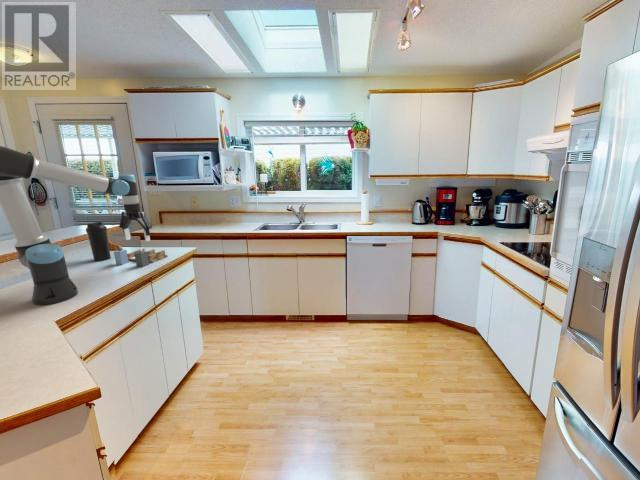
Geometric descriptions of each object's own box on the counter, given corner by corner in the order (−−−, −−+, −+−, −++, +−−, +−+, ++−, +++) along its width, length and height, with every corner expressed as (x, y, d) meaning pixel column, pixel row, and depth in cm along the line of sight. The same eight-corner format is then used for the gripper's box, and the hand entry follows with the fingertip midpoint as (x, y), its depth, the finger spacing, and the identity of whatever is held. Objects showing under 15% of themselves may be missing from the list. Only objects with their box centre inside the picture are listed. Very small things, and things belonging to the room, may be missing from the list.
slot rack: (152, 262, 176) (151, 256, 175) (125, 260, 182) (124, 253, 181) (167, 256, 188) (166, 250, 187) (141, 254, 193) (140, 248, 192)
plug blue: (122, 265, 173) (119, 248, 171) (116, 264, 175) (112, 248, 172) (128, 262, 178) (125, 246, 175) (122, 262, 179) (119, 246, 176)
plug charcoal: (142, 267, 170) (140, 250, 167) (136, 266, 171) (133, 249, 168) (149, 264, 174) (146, 248, 171) (143, 263, 175) (140, 247, 172)
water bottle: (116, 256, 189) (109, 221, 184) (103, 261, 180) (95, 224, 174) (101, 256, 190) (94, 221, 185) (88, 261, 181) (80, 224, 175)
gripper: (155, 202, 164) (161, 239, 169) (119, 201, 170) (125, 237, 175) (144, 204, 157) (151, 243, 162) (107, 203, 163) (114, 241, 168)
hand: (138, 240), depth 169 cm, fingers open, 13 cm apart
